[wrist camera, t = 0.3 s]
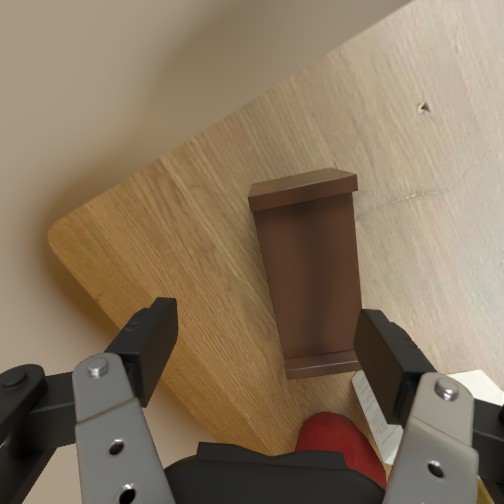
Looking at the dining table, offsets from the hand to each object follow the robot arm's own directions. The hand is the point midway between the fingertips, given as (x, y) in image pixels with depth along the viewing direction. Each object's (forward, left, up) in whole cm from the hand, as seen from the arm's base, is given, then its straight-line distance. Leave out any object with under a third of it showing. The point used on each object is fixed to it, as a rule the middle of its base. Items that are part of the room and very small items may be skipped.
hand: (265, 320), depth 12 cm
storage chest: (+4, +5, -18) cm, 19 cm away
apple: (+29, +11, -19) cm, 36 cm away
